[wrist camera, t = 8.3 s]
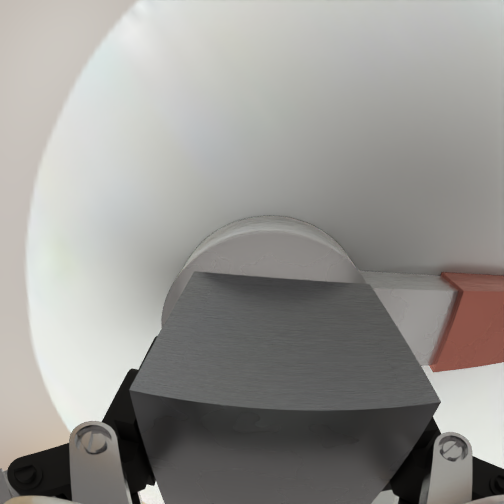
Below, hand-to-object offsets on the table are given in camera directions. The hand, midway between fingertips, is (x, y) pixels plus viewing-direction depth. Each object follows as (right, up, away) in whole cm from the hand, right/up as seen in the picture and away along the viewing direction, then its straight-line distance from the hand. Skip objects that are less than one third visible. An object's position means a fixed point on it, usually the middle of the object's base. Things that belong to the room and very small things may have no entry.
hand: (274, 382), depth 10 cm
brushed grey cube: (0, +1, +2) cm, 2 cm away
